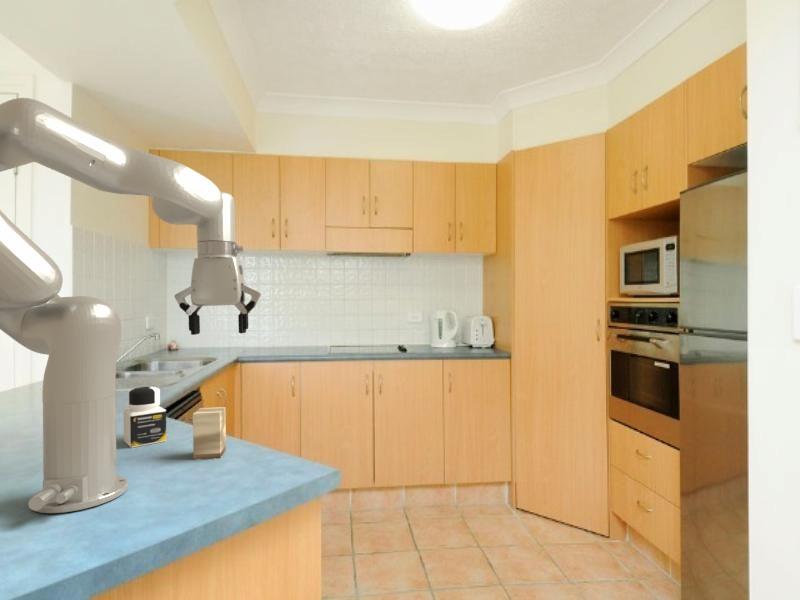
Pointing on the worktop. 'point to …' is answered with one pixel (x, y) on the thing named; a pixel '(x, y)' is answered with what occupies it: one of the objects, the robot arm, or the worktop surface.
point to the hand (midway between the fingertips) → (219, 333)
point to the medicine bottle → (144, 418)
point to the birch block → (209, 433)
